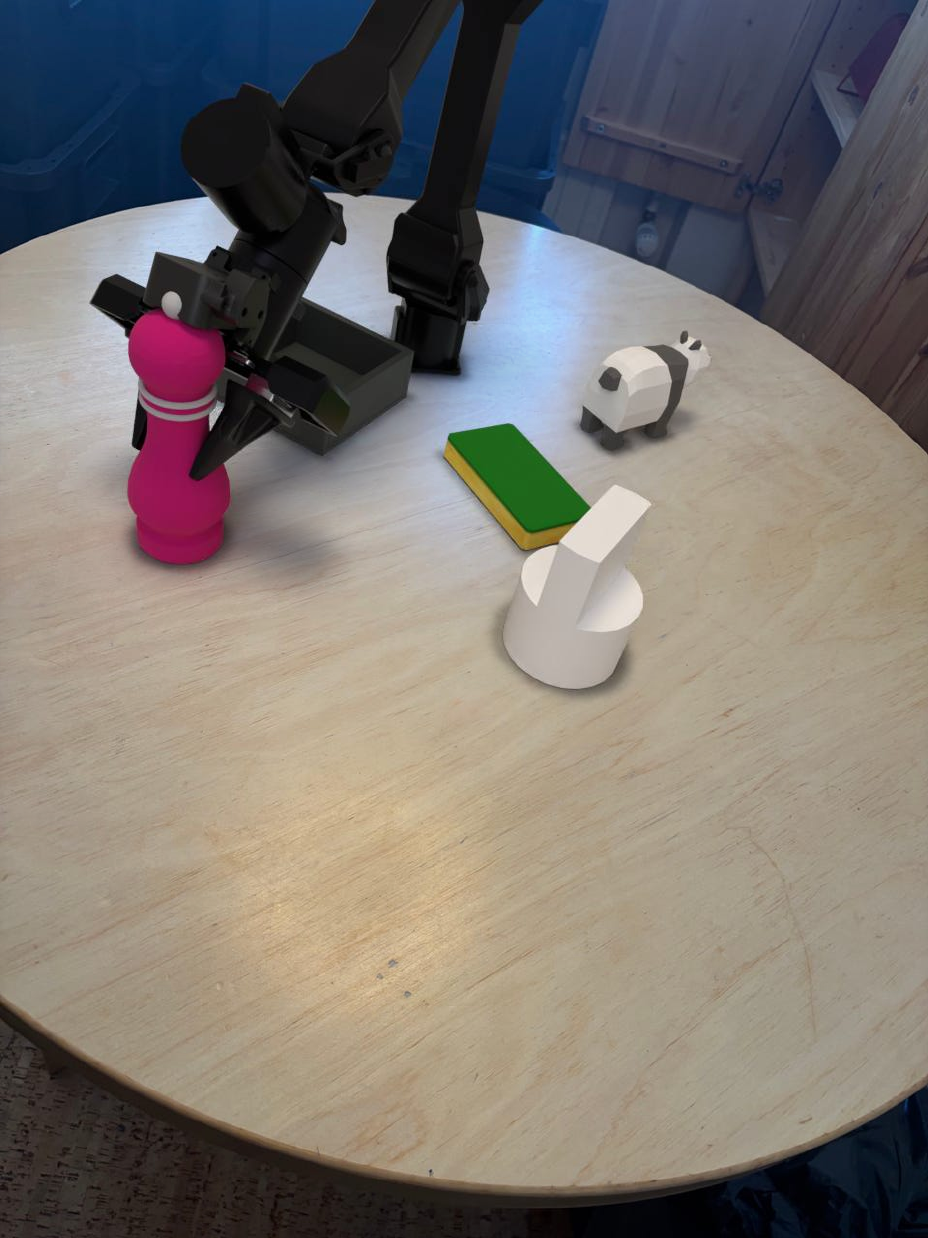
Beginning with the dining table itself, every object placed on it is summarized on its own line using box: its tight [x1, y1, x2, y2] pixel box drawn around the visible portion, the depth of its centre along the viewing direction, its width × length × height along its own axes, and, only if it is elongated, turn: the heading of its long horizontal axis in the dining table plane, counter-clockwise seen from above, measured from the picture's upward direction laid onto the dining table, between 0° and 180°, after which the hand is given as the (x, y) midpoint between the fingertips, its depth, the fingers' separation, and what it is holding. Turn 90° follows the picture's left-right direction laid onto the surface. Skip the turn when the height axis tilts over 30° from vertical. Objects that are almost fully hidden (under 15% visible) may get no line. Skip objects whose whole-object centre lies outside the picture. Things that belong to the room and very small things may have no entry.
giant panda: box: [579, 330, 713, 451], centre depth 93 cm, size 15×6×10 cm, turn 126°
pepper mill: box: [126, 292, 232, 565], centre depth 65 cm, size 7×7×20 cm
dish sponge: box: [443, 422, 592, 551], centre depth 83 cm, size 7×14×2 cm, turn 31°
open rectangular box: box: [215, 296, 414, 457], centre depth 87 cm, size 14×14×5 cm
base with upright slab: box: [502, 484, 652, 690], centre depth 68 cm, size 9×9×12 cm
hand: (164, 464), depth 66 cm, fingers closed on pepper mill, 5 cm apart
